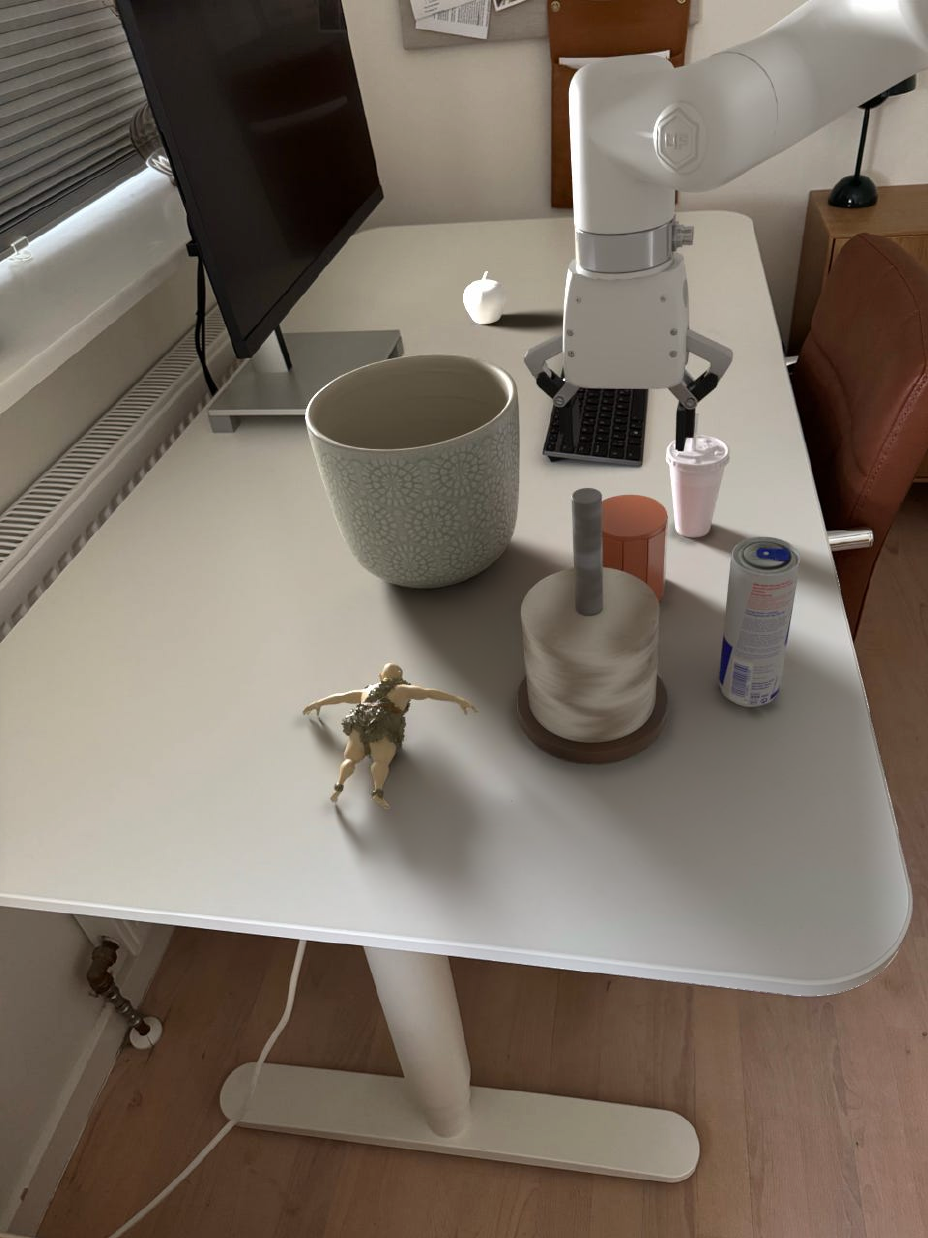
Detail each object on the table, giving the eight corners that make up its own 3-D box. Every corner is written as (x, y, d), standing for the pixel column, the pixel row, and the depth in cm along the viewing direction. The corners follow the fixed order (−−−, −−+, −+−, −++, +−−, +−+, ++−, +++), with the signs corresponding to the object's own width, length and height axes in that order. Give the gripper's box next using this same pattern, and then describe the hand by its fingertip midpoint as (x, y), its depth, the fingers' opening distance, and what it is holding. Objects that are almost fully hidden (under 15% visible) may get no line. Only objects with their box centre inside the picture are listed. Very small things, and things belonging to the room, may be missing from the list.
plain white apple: (505, 327, 146) (501, 278, 141) (463, 329, 148) (457, 280, 143) (510, 310, 152) (506, 263, 147) (469, 312, 153) (464, 265, 148)
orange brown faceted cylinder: (586, 571, 94) (584, 498, 88) (657, 564, 93) (660, 490, 88) (596, 614, 88) (594, 540, 82) (672, 607, 88) (676, 531, 82)
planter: (561, 526, 101) (554, 367, 89) (468, 637, 88) (445, 469, 76) (409, 490, 110) (384, 342, 98) (304, 586, 97) (260, 429, 85)
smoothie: (652, 520, 100) (656, 405, 91) (704, 506, 101) (713, 391, 92) (680, 550, 95) (687, 432, 86) (734, 535, 96) (746, 417, 87)
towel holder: (674, 666, 81) (687, 454, 67) (657, 775, 72) (667, 555, 58) (536, 651, 85) (520, 446, 71) (502, 752, 76) (476, 540, 62)
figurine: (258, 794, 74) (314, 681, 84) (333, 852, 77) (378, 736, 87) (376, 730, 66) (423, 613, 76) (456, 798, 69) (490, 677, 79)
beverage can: (778, 675, 79) (801, 535, 70) (777, 716, 76) (801, 575, 66) (719, 668, 81) (733, 531, 71) (715, 708, 77) (729, 569, 67)
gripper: (743, 224, 69) (729, 424, 80) (526, 234, 74) (541, 420, 85) (737, 257, 64) (723, 467, 74) (504, 264, 69) (522, 460, 80)
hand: (626, 442), depth 80 cm, fingers open, 9 cm apart
